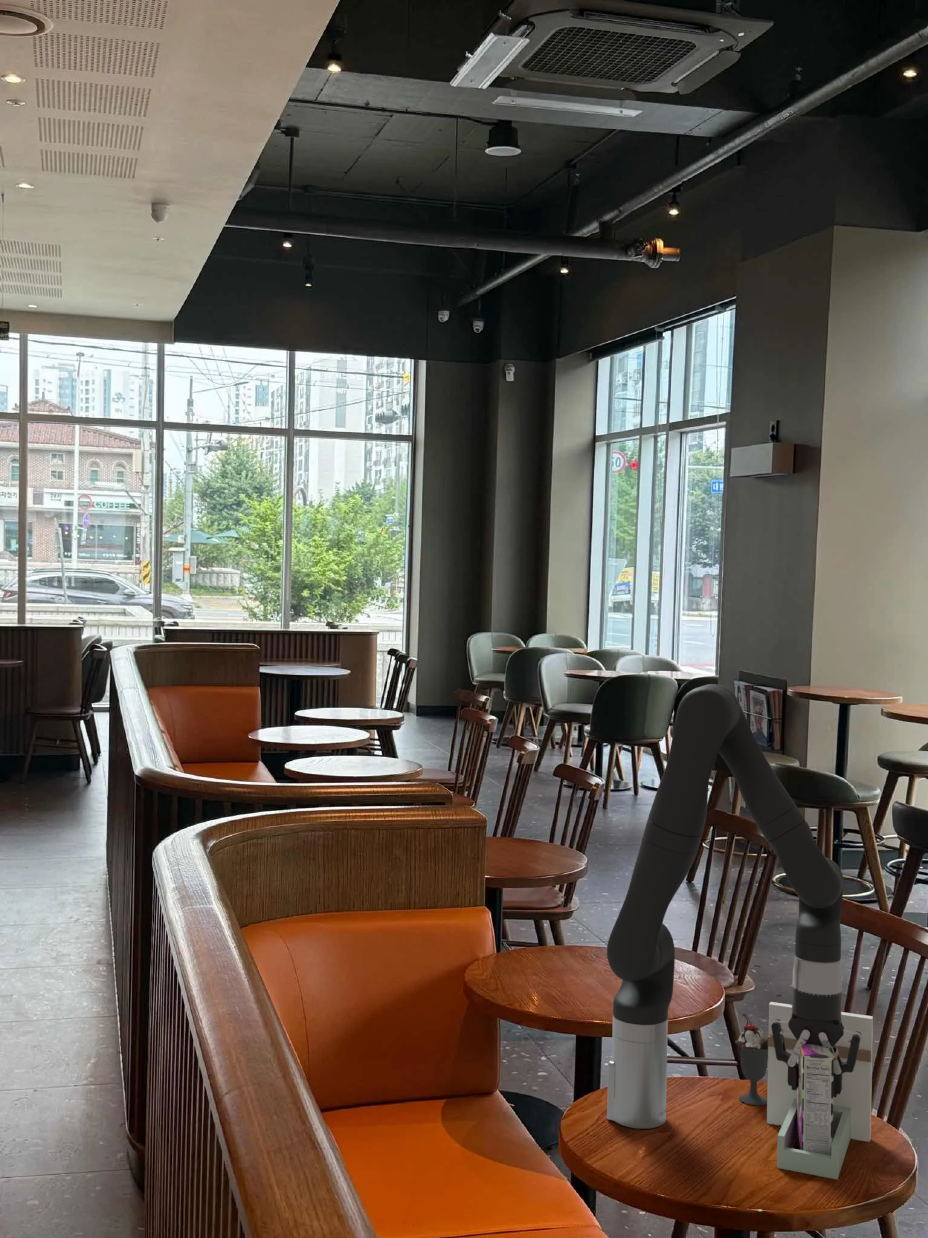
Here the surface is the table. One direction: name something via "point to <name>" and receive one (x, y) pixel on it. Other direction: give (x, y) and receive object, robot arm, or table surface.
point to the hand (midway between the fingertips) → (814, 1092)
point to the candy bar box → (815, 1099)
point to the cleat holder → (847, 1106)
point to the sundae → (753, 1061)
